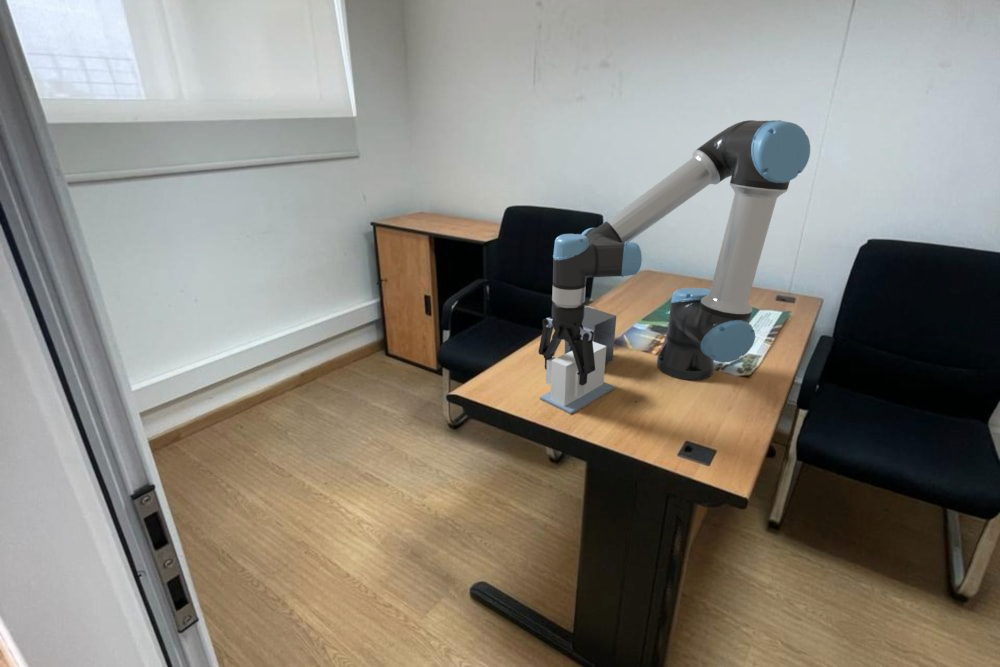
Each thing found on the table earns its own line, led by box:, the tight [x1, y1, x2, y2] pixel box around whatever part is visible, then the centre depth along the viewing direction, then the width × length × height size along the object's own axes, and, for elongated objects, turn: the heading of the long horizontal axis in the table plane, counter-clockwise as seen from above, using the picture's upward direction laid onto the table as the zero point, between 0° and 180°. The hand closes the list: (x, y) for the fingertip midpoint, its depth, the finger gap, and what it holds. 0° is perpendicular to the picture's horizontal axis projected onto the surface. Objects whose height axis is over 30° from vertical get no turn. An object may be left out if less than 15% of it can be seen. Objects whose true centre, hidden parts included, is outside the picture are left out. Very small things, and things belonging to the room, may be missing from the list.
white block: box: [550, 342, 606, 406], centre depth 128 cm, size 4×16×11 cm, turn 133°
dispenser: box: [564, 307, 617, 365], centre depth 145 cm, size 10×10×14 cm
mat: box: [539, 381, 615, 415], centre depth 130 cm, size 10×18×1 cm, turn 133°
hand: (564, 388), depth 126 cm, fingers open, 8 cm apart
